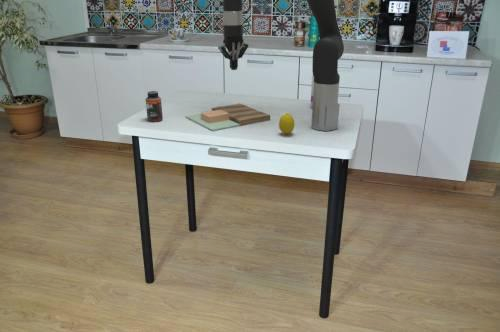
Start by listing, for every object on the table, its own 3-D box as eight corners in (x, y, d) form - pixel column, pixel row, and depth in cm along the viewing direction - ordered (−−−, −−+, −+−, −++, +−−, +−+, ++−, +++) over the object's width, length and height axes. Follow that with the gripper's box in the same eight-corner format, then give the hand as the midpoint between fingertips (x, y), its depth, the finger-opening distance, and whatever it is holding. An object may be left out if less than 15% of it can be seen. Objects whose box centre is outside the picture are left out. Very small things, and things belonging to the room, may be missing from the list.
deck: (270, 120, 187) (270, 115, 187) (240, 125, 180) (240, 120, 179) (239, 107, 204) (239, 103, 204) (211, 112, 197) (211, 108, 196)
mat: (239, 125, 180) (239, 124, 180) (212, 131, 174) (212, 129, 173) (211, 112, 197) (211, 111, 197) (185, 117, 191) (185, 115, 190)
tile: (229, 119, 185) (229, 113, 185) (209, 123, 181) (209, 117, 180) (220, 115, 191) (220, 109, 190) (200, 119, 186) (200, 112, 185)
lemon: (293, 132, 173) (293, 111, 170) (294, 137, 168) (295, 115, 165) (278, 132, 173) (278, 111, 170) (279, 137, 168) (280, 115, 165)
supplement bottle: (161, 117, 190) (159, 89, 186) (163, 121, 185) (161, 93, 181) (146, 118, 189) (144, 90, 184) (148, 122, 183) (145, 94, 179)
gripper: (223, 25, 172) (224, 73, 178) (253, 23, 179) (253, 69, 185) (212, 23, 178) (214, 70, 184) (241, 21, 185) (242, 66, 191)
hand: (233, 69), depth 185 cm, fingers closed
